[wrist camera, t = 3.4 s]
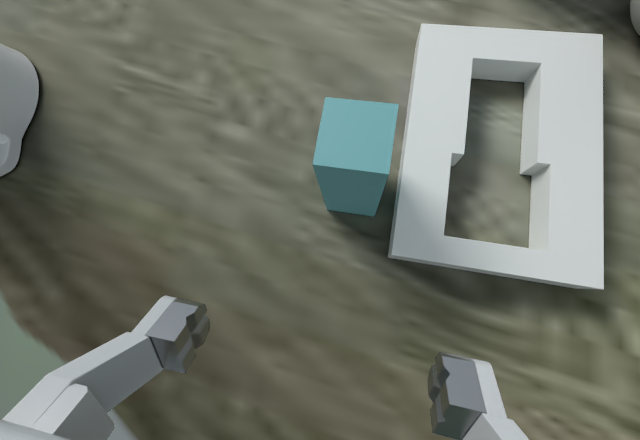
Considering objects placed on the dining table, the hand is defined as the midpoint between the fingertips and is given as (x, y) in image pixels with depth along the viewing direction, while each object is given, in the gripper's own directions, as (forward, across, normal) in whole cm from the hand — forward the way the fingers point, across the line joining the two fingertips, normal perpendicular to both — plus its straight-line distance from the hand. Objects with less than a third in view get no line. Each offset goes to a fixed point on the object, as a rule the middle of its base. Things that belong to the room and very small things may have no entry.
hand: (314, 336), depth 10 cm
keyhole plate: (+20, -10, -1) cm, 23 cm away
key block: (+17, 0, +3) cm, 17 cm away
